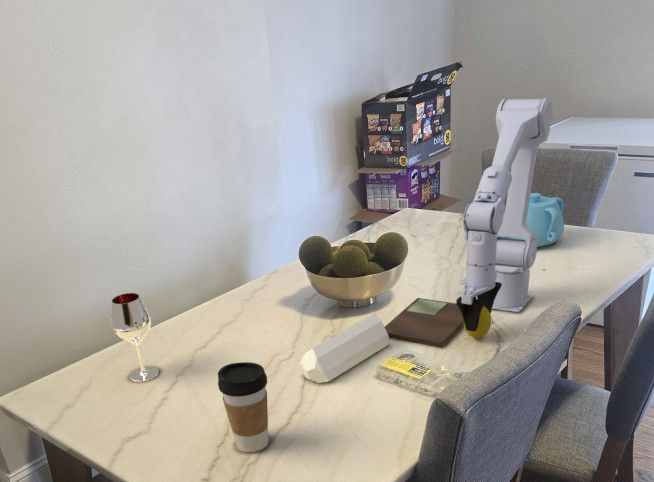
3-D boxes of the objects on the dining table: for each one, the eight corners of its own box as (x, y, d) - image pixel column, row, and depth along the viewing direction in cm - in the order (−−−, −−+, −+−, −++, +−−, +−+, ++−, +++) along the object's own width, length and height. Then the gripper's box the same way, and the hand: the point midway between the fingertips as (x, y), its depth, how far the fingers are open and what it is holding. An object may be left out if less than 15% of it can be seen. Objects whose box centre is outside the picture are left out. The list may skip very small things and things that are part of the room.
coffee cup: (228, 433, 127) (215, 362, 119) (273, 427, 128) (263, 355, 119) (229, 459, 120) (216, 385, 112) (277, 453, 120) (267, 378, 112)
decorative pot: (554, 255, 183) (559, 204, 176) (493, 250, 191) (496, 201, 184) (567, 235, 195) (573, 186, 187) (509, 231, 202) (513, 184, 195)
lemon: (490, 344, 145) (492, 309, 141) (463, 344, 147) (464, 310, 142) (489, 332, 150) (491, 298, 146) (463, 333, 151) (464, 299, 147)
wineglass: (169, 366, 153) (152, 291, 143) (152, 385, 147) (133, 307, 137) (137, 364, 156) (118, 290, 146) (119, 382, 149) (98, 306, 140)
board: (417, 302, 168) (417, 296, 167) (477, 311, 160) (477, 305, 159) (379, 336, 154) (379, 330, 154) (442, 347, 146) (442, 341, 146)
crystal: (361, 317, 154) (286, 359, 141) (383, 308, 148) (307, 351, 135) (375, 347, 155) (302, 391, 142) (397, 339, 150) (323, 385, 136)
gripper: (475, 248, 146) (472, 307, 153) (447, 271, 137) (446, 333, 144) (508, 251, 142) (503, 311, 150) (482, 276, 133) (479, 339, 140)
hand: (477, 323), depth 147 cm, fingers open, 7 cm apart
